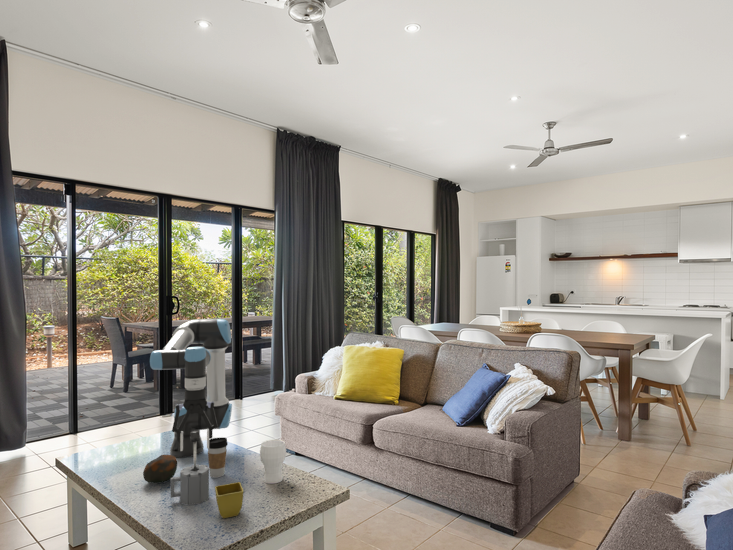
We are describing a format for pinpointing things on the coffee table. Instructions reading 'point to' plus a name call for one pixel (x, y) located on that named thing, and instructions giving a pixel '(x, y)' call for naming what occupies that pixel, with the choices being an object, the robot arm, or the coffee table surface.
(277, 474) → the cup
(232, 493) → the flower pot
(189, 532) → the coffee table surface
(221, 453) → the coffee cup
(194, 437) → the plunger
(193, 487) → the press carafe
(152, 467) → the rock
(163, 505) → the coffee table surface
